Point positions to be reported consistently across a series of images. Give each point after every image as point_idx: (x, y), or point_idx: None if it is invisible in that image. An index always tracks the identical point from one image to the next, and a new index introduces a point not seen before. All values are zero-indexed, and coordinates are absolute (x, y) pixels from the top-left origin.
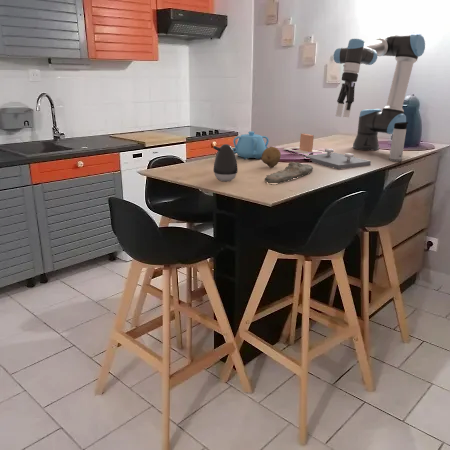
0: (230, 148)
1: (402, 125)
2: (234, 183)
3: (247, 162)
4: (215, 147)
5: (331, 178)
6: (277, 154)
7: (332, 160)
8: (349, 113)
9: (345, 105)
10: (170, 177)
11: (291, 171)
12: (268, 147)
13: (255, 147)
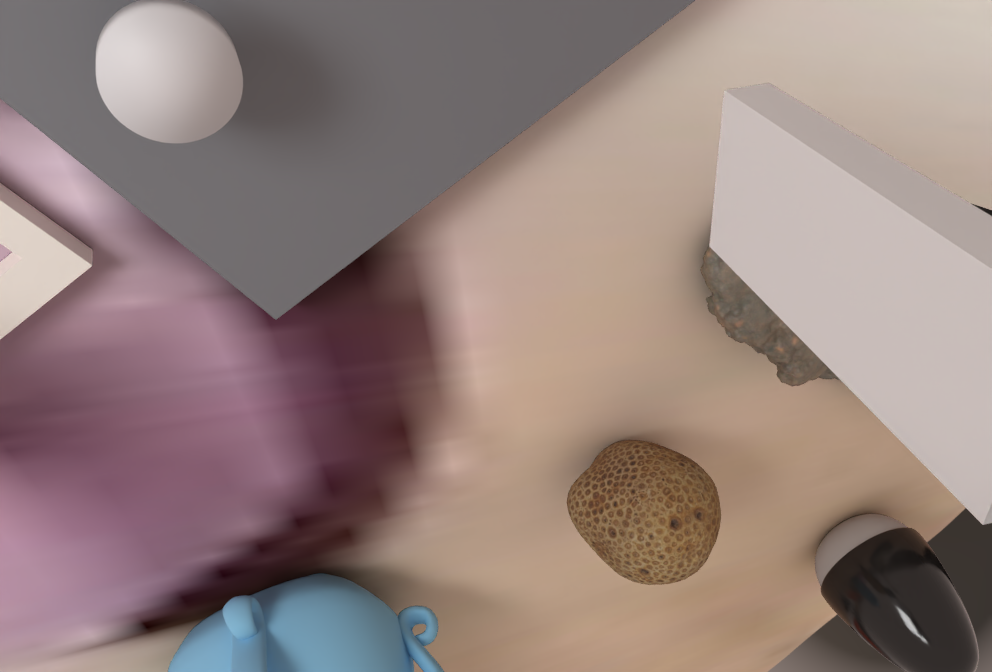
0: (975, 647)
1: None
2: (905, 491)
3: (472, 586)
4: None
5: (977, 58)
6: (716, 493)
7: (487, 16)
8: (835, 134)
9: (931, 450)
10: (768, 666)
11: None
12: (676, 581)
13: (436, 662)
